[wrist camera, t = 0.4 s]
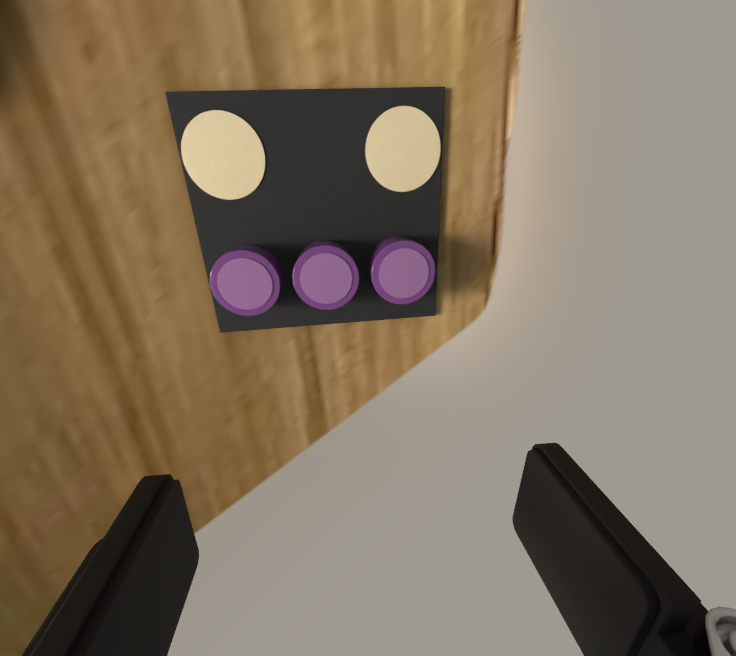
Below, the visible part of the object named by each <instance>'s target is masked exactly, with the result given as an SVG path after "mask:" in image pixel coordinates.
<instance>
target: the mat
mask: <svg viewBox="0 0 736 656" xmlns="http://www.w3.org/2000/svg"><path fill="white" fill-rule="evenodd" d="M165 93H166V97H167V102H168V106H169V110H170V115H171V119H172V124H173V128H174V132H175V137H176V141H177V145H178V150H179V154H180V158H181V163H182V167H183V172H184V176H185V180H186V185H187V189H188V193H189V198H190V202H191V206H192V211H193V215H194V220H195V224H196V228H197V233H198V237H199V241H200V246H201V250H202V254H203V259H204V263H205V268H206V272H207V276H208V281H209V285H210V273H211V270H212V268H213V265H214V264H215V262H216V261H217V260H218V259H219V258H220V257H221V256H223V255H224V254H226V253H227V252H228V251H230V250H231V249H233V248H235V247H237V246H241V245H256V246H260V247H262V248H265V249H266V250H268V251H269V252H271V253H272V254H273V255H274V256H275V257H276V258H277V259H278V261H279V262H280V264H281V267H282V269H283V274H284V282H283V286H282V289H281V292H280V294H279V296H278V299H277V301H276V302H275V304H274V305H273V306H272V307H271V308H270V309H269V310H267V311H265V312H264V313H261V314H258V315H253V316H244V315H239V314H236V313H233V312H231V311H229V310H227V309H226V308H225V307H223V306H222V305H221V304H220V303H219V302H218V301H217V299H216V298H215V296H214V294H213V292H212V289H211V286H210V289H211V294H212V298H213V302H214V307H215V311H216V316H217V320H218V324H219V329H220V332H232V331H245V330H258V329H270V328H283V327H296V326H308V325H321V324H334V323H346V322H359V321H371V320H384V319H397V318H409V317H422V316H435V311H436V287H437V263H438V239H439V215H440V190H441V166H442V142H443V118H444V94H445V87H412V88H356V89H300V90H244V91H188V92H165ZM393 236H405V237H409V238H411V239H413V240H415V241H416V242H418V243H419V244H421V245H422V246H424V247H425V248H426V249H427V250H428V251H429V252H430V254H431V255H432V258H433V260H434V263H435V277H434V280H433V283H432V285H431V287H430V289H429V290H428V291H427V293H426V294H425V295H424V296H422V297H421V298H420V299H418V300H416V301H414V302H412V303H408V304H394V303H391V302H388V301H386V300H385V299H383V298H382V297H381V296H380V295H379V294H378V293H377V291H376V290H375V288H374V286H373V284H372V282H371V279H370V277H369V273H368V262H369V258H370V255H371V253H372V251H373V250H374V248H375V247H376V246H377V245H378V244H379V243H380V242H382V241H383V240H385V239H387V238H390V237H393ZM321 240H330V241H334V242H337V243H339V244H341V245H343V246H344V247H345V248H347V249H348V250H349V251H350V253H351V254H352V256H353V258H354V260H355V262H356V265H357V268H358V271H359V285H358V288H357V291H356V293H355V295H354V296H353V297H352V299H351V300H350V301H349V302H348V303H346V304H345V305H343V306H341V307H339V308H336V309H331V310H321V309H317V308H314V307H312V306H310V305H308V304H306V303H305V302H304V301H303V300H302V299H301V298H300V297H299V296H298V294H297V292H296V290H295V288H294V285H293V277H292V276H293V269H294V266H295V263H296V261H297V258H298V256H299V254H300V253H301V251H302V250H303V249H304V248H305V247H307V246H308V245H309V244H311V243H313V242H316V241H321Z"/></svg>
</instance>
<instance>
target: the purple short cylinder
mask: <svg viewBox="0 0 736 656" xmlns="http://www.w3.org/2000/svg"><path fill="white" fill-rule="evenodd" d="M368 273H369V277H370V279H371V282H372V284H373V286H374V288H375V290H376V291H377V293H378V294H379V295H380V296H381V297H382V298H383V299H385V300H386V301H388V302H391V303H394V304H408V303H412V302H414V301H416V300H418V299H420V298H421V297H422V296H424V295H425V294H426V293H427V291H428V290H429V289H430V287H431V285H432V283H433V280H434V277H435V263H434V260H433V258H432V255H431V254H430V252H429V251H428V250H427V249H426V248H425V247H424V246H422V245H421V244H419V243H418V242H416V241H415V240H413V239H411V238H409V237H405V236H393V237H390V238H387V239H385V240H383V241H382V242H380V243H379V244H378V245H377V246H376V247H375V248H374V250H373V251H372V253H371V255H370V258H369V262H368Z"/></svg>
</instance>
